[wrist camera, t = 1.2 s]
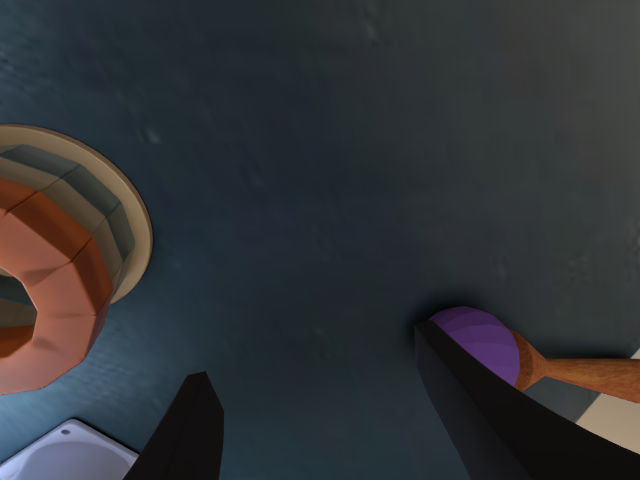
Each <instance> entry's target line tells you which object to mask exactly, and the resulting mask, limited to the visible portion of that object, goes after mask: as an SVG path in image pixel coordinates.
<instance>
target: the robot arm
mask: <svg viewBox="0 0 640 480" xmlns="http://www.w3.org/2000/svg"><path fill="white" fill-rule="evenodd" d="M414 332H415V346H416V360H417V367H418V370H419V373H420V375H421V378H422V381H423V383H424V386H425V388H426V391H427V393H428V395H429V397H430V399H431V401H432V403H433V405H434V407H435V409H436V411H437V413H438V415H439V417H440V419H441V421H442V422H443V424H444V426H445V428H446V430H447V432H448V434H449V436H450V438H451V440H452V442H453V443H454V445H455V447H456V449H457V451H458V453H459V455H460V457H461V459H462V461H463V463H464V465H465V467H466V469H467V472H468V474H469V476H470V479H471V480H640V454H638V453H635V452H633V451H631V450H628V449H626V448H623V447H621V446H619V445H617V444H615V443H613V442H610V441H608V440H606V439H604V438H602V437H600V436H598V435H596V434H594V433H592V432H590V431H588V430H586V429H584V428H582V427H580V426H579V425H577V424H575V423H573V422H571V421H569V420H567V419H566V418H564V417H562V416H560V415H558V414H556V413H555V412H553V411H551V410H549V409H548V408H546V407H544V406H543V405H541V404H539V403H538V402H536V401H535V400H533V399H531V398H530V397H528V396H527V395H525V394H524V393H522V392H521V391H519V390H518V389H516V388H515V387H513V386H512V385H510V384H509V383H508V382H506V381H505V380H503V379H502V378H501V377H499V376H498V375H497V374H495V373H494V372H492V371H491V370H490V369H489V368H487V367H486V366H485V365H483V364H482V363H481V362H480V361H478V360H477V359H476V358H475V357H473V356H472V355H471V354H470V353H469V352H467V351H466V350H465V349H464V348H463V347H461V346H460V345H459V344H458V343H457V342H456V341H455V340H454V339H452V338H451V337H450V336H449V335H448V334H447V333H446V332H445V331H444V330H443V329H441V328H440V327H439V326H438V325H437V324H436V323H435V322H434V321H432V320H428V321H424V322H419V323H415V324H414ZM223 436H224V410H223V408H222V406H221V404H220V401H219V399H218V397H217V395H216V393H215V391H214V388H213V386H212V384H211V382H210V380H209V378H208V375H207V373H206V371H204V372H200V373H196V374H191V375H188V376H187V377H186V379H185V380H184V382H183V384H182V385H181V387H180V389H179V391H178V392H177V394H176V396H175V398H174V399H173V401H172V403H171V405H170V406H169V408H168V410H167V411H166V413H165V415H164V417H163V418H162V420H161V421H160V423H159V425H158V426H157V428H156V430H155V431H154V433H153V435H152V436H151V438H150V439H149V441H148V443H147V444H146V446H145V447H144V449H143V450H142V452H141V453H140V455H138V454H136V453H135V452H133V451H131V450H129V449H128V448H126V447H124V446H122V445H121V444H119V443H117V442H115V441H114V440H112V439H110V438H108V437H106V436H105V435H103V434H101V433H99V432H98V431H96V430H94V429H92V428H91V427H89V426H87V425H85V424H84V423H82V422H80V421H78V420H76V419H70V420H67V421H66V422H64V423H63V424H61V425H60V426H58V427H57V428H55V429H54V430H52V431H51V432H49V433H47V434H46V435H44V436H43V437H41V438H40V439H38V440H37V441H35V442H34V443H32V444H31V445H29V446H28V447H26V448H25V449H23V450H22V451H20V452H19V453H17V454H16V455H14V456H13V457H11V458H10V459H8V460H7V461H5V462H4V463H2V464H1V465H0V480H219V472H220V465H221V457H222V449H223Z"/></svg>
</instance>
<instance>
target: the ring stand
mask: <svg viewBox="0 0 640 480" xmlns="http://www.w3.org/2000/svg"><path fill="white" fill-rule="evenodd" d="M0 178H3V179H6V180H9V181H12V182H15V183H18V184H21V185H24V186H27V187H30V188H33V189H36V190H37V192H42V193H43V194H44V195H45V196H47V197H48V198H49V199H50V200H51V201H52V202H54V203H55V204H56V205H57V206H58V207H60V208H61V209H62V210H63V211H64V212H65V213H67V214H68V215H69V216H70V217H71V218H73V219H74V220H75V221H76V222H77V223H78V224H80V225H81V226H82V227H83V228H84V229H86V230H87V231H88V232H89V233H90V234H92V238H94V239H95V241H96V243H97V246H98V248H99V251H100V253H101V256H102V258H103V261H104V263H105V265H106V268H107V270H108V273H109V275H110V278H111V280H112V283H113V288H114V290H113V294H112V297H111V301H110V304H112V303H114V302H116V301H117V300H119V299H121V298H122V297H124V296H125V295H126V294H127V293H128V292H130V291H131V290H132V289H133V288H134V286H135V285H136V284H137V283H138V282H139V280H140V279H141V277H142V275H143V274H144V272H145V270H146V268H147V265H148V263H149V261H150V257H151V253H152V245H153V234H152V226H151V222H150V218H149V215H148V212H147V209H146V207H145V204H144V202H143V201H142V199H141V197H140V195H139V193H138V192H137V190H136V189H135V188H134V186H133V185H132V183H131V182H130V181H129V180H128V178H127V177H126V176H125V175H124V174H123V173H122V172H121V171H120V170H119V169H118V168H117V167H116V166H115V165H114V164H113V163H111V162H110V161H109V160H108V159H107V158H105V157H104V156H102V155H101V154H100V153H98V152H97V151H95V150H94V149H92V148H91V147H89V146H87V145H85V144H83V143H82V142H80V141H78V140H76V139H73V138H71V137H69V136H66V135H64V134H61V133H58V132H55V131H52V130H49V129H45V128H40V127H35V126H31V125H21V124H0ZM110 304H109V305H110ZM36 317H37V310H36V308H35V306H34V304H33V302H32V301H31V299H30V297H29V295H28V293H27V291H26V290H25V288H24V286H23V284H22V282H21V281H20V280H18V279H17V278H15V277H14V276H13V275H11V274H10V273H8V272H7V271H5V270H4V269H3V268H1V267H0V329H5V328H12V327H20V326H27V325H34V324H35V322H36Z"/></svg>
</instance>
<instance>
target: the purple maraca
mask: <svg viewBox="0 0 640 480" xmlns="http://www.w3.org/2000/svg"><path fill="white" fill-rule="evenodd" d="M429 320H432V321H434V322H435V323H436V324H437V325H438V326H439V327H440V328H441V329H443V330H444V331H445V332H446V333H447V334H448V335H449V336H450V337H451V338H452V339H454V340H455V341H456V342H457V343H458V344H459V345H460V346H461V347H463V348H464V349H465V350H466V351H467V352H469V353H470V354H471V355H472V356H473V357H475V358H476V359H477V360H478V361H480V362H481V363H482V364H483V365H485V366H486V367H487V368H489V369H490V370H491V371H492V372H494V373H495V374H497V375H498V376H499V377H501V378H502V379H503V380H505V381H506V382H508V383H509V384H510V385H512V386H513V387H515V388H516V389H518V390H519V391H521V392H522V391H524V390H525V389H526V388H528V387H529V386H531V385H532V384H534V383H535V382H537V381H538V380H539V379H541V378H542V377H544V376H547V377H551V378H554V379H557V380H561V381H564V382H567V383H571V384H574V385H577V386H581V387H584V388H587V389H591V390H594V391H597V392H601V393H604V394H607V395H611V396H614V397H618V398H621V399H625V400H628V401H631V402H634V403H640V359H545V358H544V357H543V356H542V355H541V354H540V353H539V352H538V351H537V350H536V349H534V348H533V347H532V346H531V345H530V344H529V343H528V342H527V341H526V340H525V339H524V338H523V337H522V336H521V335H520V334H519V333H518V332H515V331H513V330H511V329H508V328H506V327H505V326H504V325H503V324H502V323H501V322H500V321H499V320H498V319H497V318H495V317H494V316H493V315H492V314H490V313H487V312H485V311H482V310H480V309H476V308H472V307H467V306H460V307H453V308H449V309H446V310H443V311H439V312H437V313H436V314H435V315H433V316H432V317H431V318H430V319H429ZM415 357H416V346H415ZM416 362H417V360H416Z"/></svg>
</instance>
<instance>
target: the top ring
mask: <svg viewBox="0 0 640 480" xmlns="http://www.w3.org/2000/svg"><path fill="white" fill-rule="evenodd" d="M0 267H1V268H3V269H4V270H5V271H7V272H8V273H10V274H11V275H13V276H14V277H15V278H17V279H18V280H20V281H21V282H22V284H23V286H24V288H25V290H26V291H27V293H28V295H29V297H30V299H31V301H32V302H33V304H34V306H35V308H36V310H37V317H36V322H35V324H34V325H27V326H20V327H12V328H5V329H0V395H6V394H12V393H19V392H26V391H32V390H39V389H41V388H44V387H46V386H47V385H49V384H50V383H52V382H53V381H55V380H56V379H58V378H59V377H60V376H62V375H63V374H65V373H66V372H68V371H69V370H71V369H72V368H73V367H75V366H76V365H78V364H79V363H81V362H82V361H83V360H84V359H85V358H86V356H87V355H88V353H89V351H90V349H91V347H92V346H93V344H94V342H95V340H96V338H97V337H98V335H99V333H100V331H101V330H102V328H103V325H104V321H105V318H106V314H107V311H108V307H109V304H110V301H111V297H112V294H113V290H114V288H113V283H112V280H111V278H110V275H109V273H108V270H107V268H106V265H105V263H104V261H103V258H102V256H101V253H100V251H99V248H98V246H97V243H96V241H95V239H94V238H92V234H90V233H89V232H88V231H87V230H86V229H84V228H83V227H82V226H81V225H80V224H78V223H77V222H76V221H75V220H74V219H73V218H71V217H70V216H69V215H68V214H67V213H65V212H64V211H63V210H62V209H61V208H60V207H58V206H57V205H56V204H55V203H54V202H52V201H51V200H50V199H49V198H48V197H47V196H45V195H44V194H43V193H42V192H37V190H36V189H33V188H30V187H27V186H24V185H21V184H18V183H15V182H12V181H9V180H6V179H3V178H0Z"/></svg>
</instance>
